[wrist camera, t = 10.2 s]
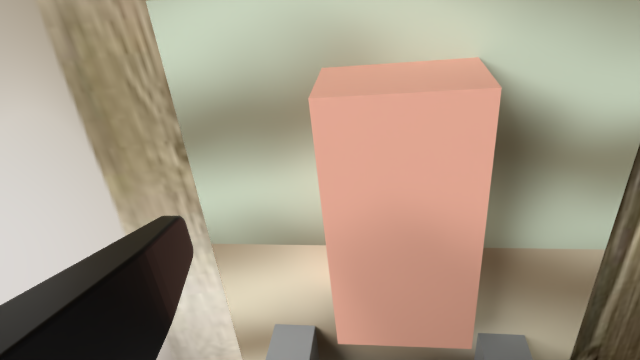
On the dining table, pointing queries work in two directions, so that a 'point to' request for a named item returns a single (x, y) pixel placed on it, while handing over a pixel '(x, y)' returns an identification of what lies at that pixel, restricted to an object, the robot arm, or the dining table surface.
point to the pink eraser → (405, 196)
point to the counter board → (508, 164)
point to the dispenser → (302, 352)
